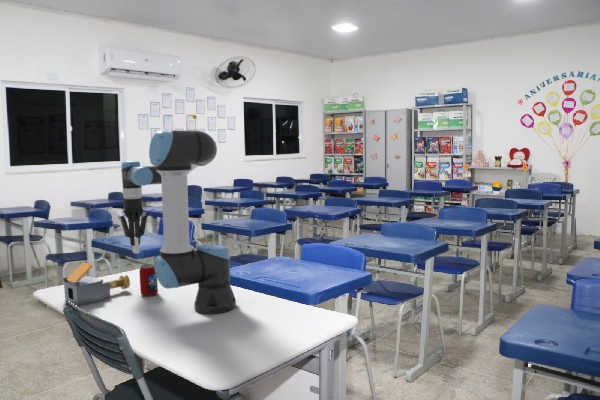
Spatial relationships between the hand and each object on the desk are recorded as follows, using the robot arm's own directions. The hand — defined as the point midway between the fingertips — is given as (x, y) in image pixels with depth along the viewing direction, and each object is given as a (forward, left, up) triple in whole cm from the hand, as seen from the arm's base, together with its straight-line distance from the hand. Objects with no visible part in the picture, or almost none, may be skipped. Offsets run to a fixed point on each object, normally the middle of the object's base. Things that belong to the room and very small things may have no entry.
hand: (135, 252), depth 208 cm
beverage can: (-13, +2, -16) cm, 21 cm away
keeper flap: (0, +24, -4) cm, 24 cm away
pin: (0, +13, -14) cm, 19 cm away
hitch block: (0, +21, -15) cm, 26 cm away
